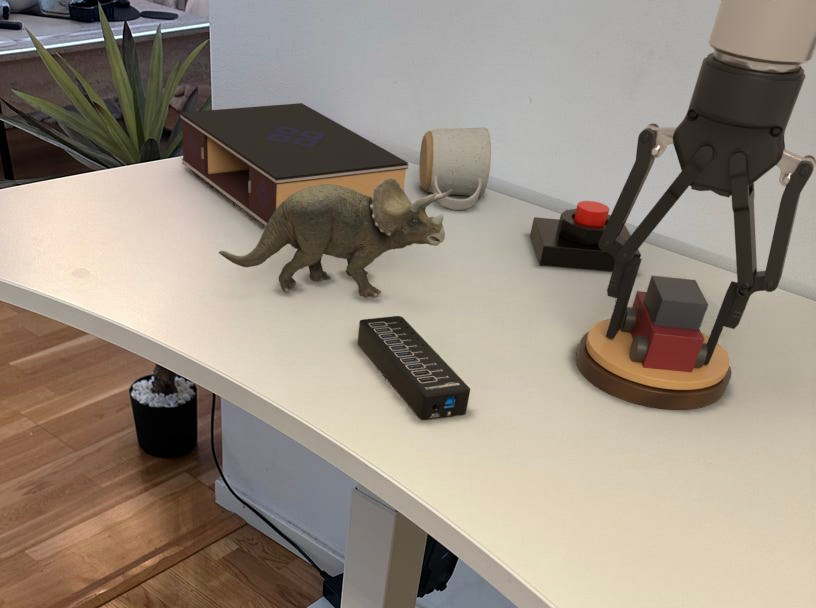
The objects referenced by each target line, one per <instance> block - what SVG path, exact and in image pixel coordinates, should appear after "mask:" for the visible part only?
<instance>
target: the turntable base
mask: <svg viewBox="0 0 816 608" xmlns="http://www.w3.org/2000/svg"><path fill="white" fill-rule="evenodd" d="M588 332H589V330H588V331H587V332H586V333H584V334H583V336H582V337H581V339H580V341H579V346H578V348H577V352H576V355H575V363H576V367H577V368H578V371H579V372H580V373H581V375H582V376H583V377H584V378H585V379H586V380H587V381H588V382H589V383H590V384H592V385H593V386H595V387H597V388H598V389H599V390H601V391H603V392H606V394H609V395H611V396H613V397H616V398H618V399H620V400H623V401H626V402H629V403H633V404H635V405H639V406H644V407H649V408H653V409H654V408H655V409H661V410H675V411H676V410H677V411H679V410H683V411H684V410H695V409H701V408H705V407H707V406H710V405H712V404H715V403H716V402H718V401H719V400H720V399H722V398H723V396H724V395H725V393H726V391H727V388H728V385H729V383H730V380H731V378H732V373H733V371H732V367H731V364H730V365H729V368H728V371H727V373H726V375H725V377H724V378H723V379H722V380H721V381H720V382H718V383H717V384H715V385H712V386H710V387H706V388H701V389H694V390H673V389H664V388H657V387H652V386H647V385H644V384H640V383H637V382H633V381H630V380H628V379H625V378H623V377H620V376H618V375H616V374H614V373H612V372H610V371H608V370H607V369H605V368H604V367H602V366H601V365H599V364H598V363H597V362H596V361H595V360H594V359H593V358H592V357H591V356H590V354H589V353H588V351H587V348H586V339H587V335H588Z"/></svg>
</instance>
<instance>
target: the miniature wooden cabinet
mask: <svg viewBox="0 0 816 608" xmlns="http://www.w3.org/2000/svg"><path fill="white" fill-rule="evenodd" d="M179 115H180V117H179V118H180V119H181V134H182V135H181V137H182V138H181V139H182V158H181V164H182V165H184V166H185V167H186V168H187V169H189V170H190V171H191V172H193V173H194V174H195V175H197V176H198V177H200V179H202V180H204V181H205V182H206V183H207V184H209V185H210V186H211V187H212V188H214V189H215V190H216V191H218V193H220V194H222V195H223V196H225V197H226V198H227V199H228V200H230V201H231V202H232V203H234V204H235V205H236V206H238V207H239V208H240V209H242V210H243V211H244V212H246V213H247V214H248V215H250V216H251V217H252V218H254V219H255V220H256V221H257V222H258V223H260V224H262V226H264V227H266V225H267V223H268V222H269V220H270V218H271V216H272V215H273V213H274V212H275V210H276V209H277V208H278V206H279V205H280V204H281V203H282V202H283V201H285V200H286V199H287V198H288V197H289V196H290V195H292V194H293V193H296V192H297V191H300V190H302V189H305V188H307V187H311V186H317V185H321V184H331V185H339V186H342V187H345V188H350V189H352V190H355V191H357V192H359V193H361V194H363V195H366V196H372V195H373V192H374V188H375V187H378V185H379V182H384V181H385V179H389V178H390V177H391V178H392V179H394V178H395V180H396V182H397V183H399V184H400V187H401V189H403V192H404V190H405V181H406V172H407V170H408V169H409V162H408V161H406V160H404V159H402V157H399V156H398V155H396V154H394V153H392V152H390V151H389V150H387V149H386V148H383V147H381V146H379V145H377V144H376V143H373V141H370V140H369V139H367V138H365V137H363V136H362V135H360V134H358V133H356V132H354V131H353V130H351V129H349V128H347V127H345V126H344V125H342V124H340V123H339V122H337V121H335V120H333V119H331V118H330V117H328V116H326V115H324V114H322V113H320V112H319V111H317V110H315V109H313V108H311V107H310V106H308V105H306V104H304V103H302V102H297V103H286V104H285V103H283V104H275V105H274V104H272V105H259V106H245V107H233V108H221V109H209V110H208V109H206V110H194V111H181V112H179Z"/></svg>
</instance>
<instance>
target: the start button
mask: <svg viewBox="0 0 816 608" xmlns="http://www.w3.org/2000/svg"><path fill="white" fill-rule="evenodd" d="M575 209H576V212H575V216H574V220H575V221H577V222H578V223H582V224H585V225H590V226H604V225H605V224H606V220H607V217H608V214H609V212H610V207H609V206H608V205H607V204H604V203H602V202H599V201H593V200H582V201H579V202H578V203H577V204H576V208H575Z"/></svg>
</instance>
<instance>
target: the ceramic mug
mask: <svg viewBox="0 0 816 608" xmlns="http://www.w3.org/2000/svg"><path fill="white" fill-rule="evenodd" d="M491 141H492V140H491V135H490V131H489V129H488V128H487V127H485V126H484V127H462V128H461V127H460V128H459V127H458V128H436V129H432V130H428V131H427V132H425V133H424V135H423V136H422V140H421V144H420V151H419V162H418V163H419V166H418V167H419V169H418V171H419V172H418V173H419V174H418V175H419V184H420V187H421V189H422V190H423V191H425V192H426V193H431V194H434V193H437V194H440V193H445V192H447V191H449V190H450V189H451V190H452V192H451V193H450V194H449V195H454V196H466V197H467V198H462V199H459V198H453V197H452V198H451V197H449V196H447V197H444V198H442V199H439V200H436V202H437V203H438V204H439V205H440V206H441V207H444V208H446V209H448V210H452V211H464V210H465V211H466V210H468V209H471V208H472V207H473V206H474V205H475V204H476V203H477V201H478V200H479V197H482V196H484V194H485V192H486V189H487V185H488V182H489V178H490V171H491V164H492V163H491V161H492V143H491Z"/></svg>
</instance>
